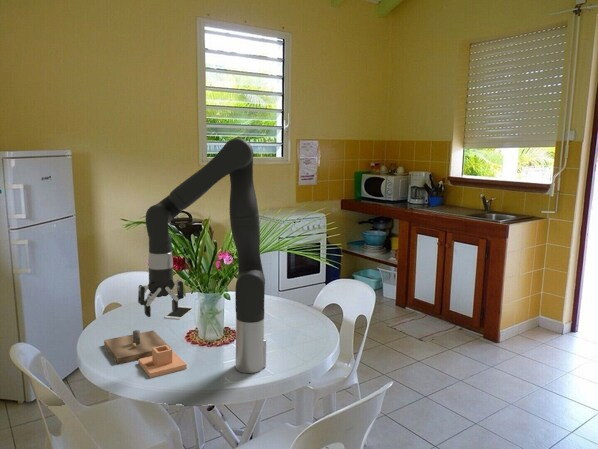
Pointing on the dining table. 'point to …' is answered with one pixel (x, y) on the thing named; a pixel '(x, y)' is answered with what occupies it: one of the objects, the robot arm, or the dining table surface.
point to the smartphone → (179, 312)
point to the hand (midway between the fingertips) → (161, 314)
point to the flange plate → (162, 362)
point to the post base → (133, 346)
